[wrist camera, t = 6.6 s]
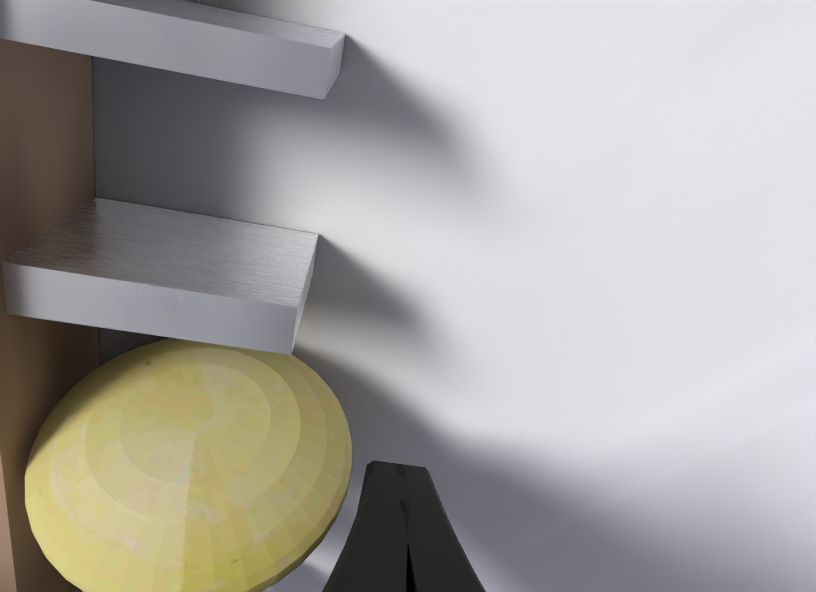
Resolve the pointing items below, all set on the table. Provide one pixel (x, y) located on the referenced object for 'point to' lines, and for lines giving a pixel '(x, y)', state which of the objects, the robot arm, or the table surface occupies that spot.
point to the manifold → (124, 219)
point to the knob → (188, 470)
